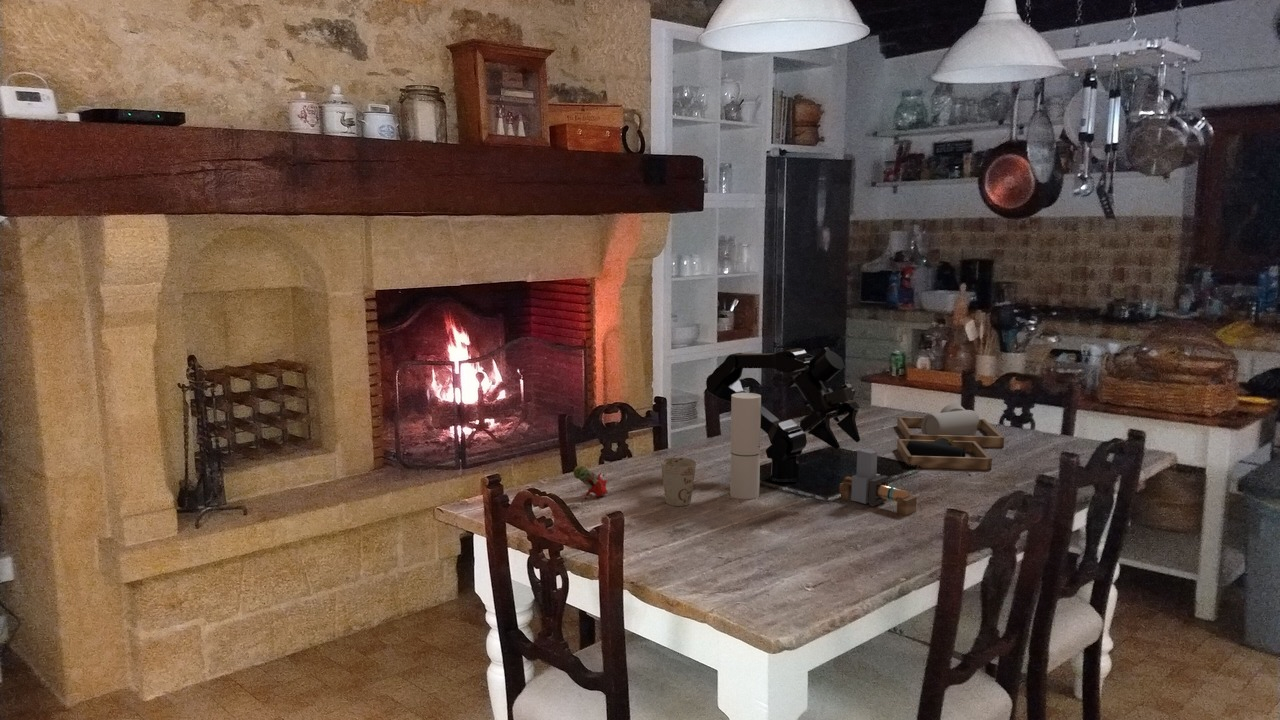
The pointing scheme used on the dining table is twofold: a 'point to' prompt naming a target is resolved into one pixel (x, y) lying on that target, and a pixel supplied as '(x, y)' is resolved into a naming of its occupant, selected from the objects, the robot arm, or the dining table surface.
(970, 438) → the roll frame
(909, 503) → the cradle
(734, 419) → the cylindrical container
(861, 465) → the sleeve
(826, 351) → the robot arm
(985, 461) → the wooden tray
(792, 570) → the dining table surface
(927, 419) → the elbow connector
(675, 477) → the beige paper cup
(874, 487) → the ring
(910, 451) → the pipe connector
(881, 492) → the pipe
